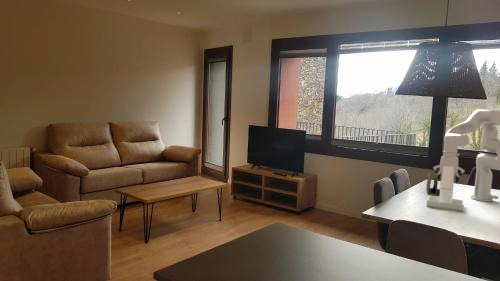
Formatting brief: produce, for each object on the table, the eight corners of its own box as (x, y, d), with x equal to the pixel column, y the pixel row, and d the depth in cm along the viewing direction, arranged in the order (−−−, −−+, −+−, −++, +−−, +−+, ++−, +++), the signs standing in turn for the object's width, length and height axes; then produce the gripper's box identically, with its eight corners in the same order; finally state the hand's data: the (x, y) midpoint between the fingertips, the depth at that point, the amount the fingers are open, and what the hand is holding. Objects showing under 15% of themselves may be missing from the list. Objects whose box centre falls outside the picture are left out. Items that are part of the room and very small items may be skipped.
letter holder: (428, 195, 265) (429, 175, 263) (426, 189, 283) (427, 170, 281) (443, 197, 261) (445, 177, 259) (440, 190, 279) (442, 172, 278)
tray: (462, 206, 238) (463, 200, 238) (463, 211, 226) (463, 205, 225) (427, 201, 247) (428, 195, 247) (426, 206, 235) (427, 200, 235)
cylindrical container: (451, 204, 238) (454, 165, 235) (451, 207, 232) (455, 167, 229) (438, 202, 241) (442, 164, 238) (438, 205, 235) (442, 165, 232)
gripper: (465, 155, 232) (463, 182, 234) (434, 152, 240) (432, 178, 242) (466, 156, 226) (463, 184, 228) (434, 154, 234) (431, 181, 236)
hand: (447, 181), depth 235 cm, fingers open, 9 cm apart
